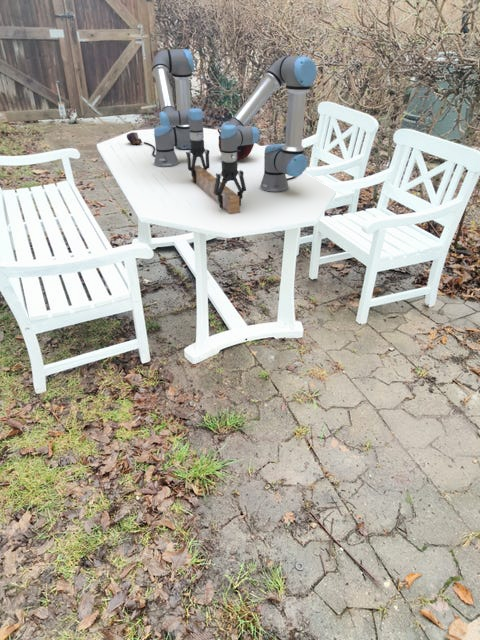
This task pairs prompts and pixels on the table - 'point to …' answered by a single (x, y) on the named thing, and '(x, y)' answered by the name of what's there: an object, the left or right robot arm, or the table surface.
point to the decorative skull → (239, 149)
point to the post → (208, 185)
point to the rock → (133, 138)
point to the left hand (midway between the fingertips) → (199, 181)
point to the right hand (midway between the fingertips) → (230, 206)
